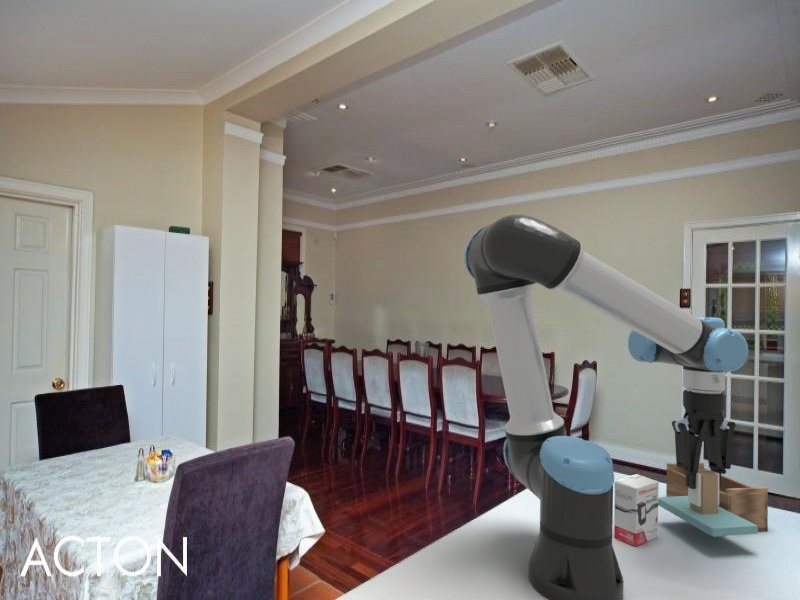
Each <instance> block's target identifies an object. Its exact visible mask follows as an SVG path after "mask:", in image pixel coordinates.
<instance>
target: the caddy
mask: <svg viewBox="0 0 800 600" xmlns="http://www.w3.org/2000/svg"><path fill="white" fill-rule="evenodd" d="M698 469H706V468H705V463H704V462H702V461H699V468H698ZM665 486H666V492H665V493H666V496H665V497H674V496H688V487H687V486H686V471H685V470H683V469H681V468H679V467H677V465H676V462H672V463H671V462H670V463H666V485H665ZM768 492H769V488H768V487H766V486H759V487H758V486H756V487H752V486H749V485H746V484H745V483H742V482H739V481H737V480H735V479H732V478H731V477H730V478H729V477H727V476H725V475H724V474H723V475H722V474H721V487H719V505H718V506H719V507H721V508H723V509H725V510H727V511H729V512H731V513H733V514H735V515H737V516H739V517H741V518H743V519H745V520H747V521H749V522H751V523H753V524H755V525H757V526H758V533H761V532H768V531H769V530H768V529H769V526H768V525H769V523H768V522H769V521H768V519H769V518H768V516H769V515H768V513H769V512H768V511H769V510H768V509H769V505H768V504H769V502H768V501H769V499H768V497H769V493H768Z"/></svg>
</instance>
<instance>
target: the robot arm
mask: <svg viewBox="0 0 800 600" xmlns="http://www.w3.org/2000/svg"><path fill="white" fill-rule="evenodd" d="M583 249H584V247H583V244H582V242H581V241H580V240H578V239H576V238H574V237H572V236H571V235H569V234H568V233H566V232H564V231H562V230H561V229H558V228H557V227H555V226H553V225H552V224H550V223H547V222H546V221H544V220H541V219H538V218H536V217H534V216H530V215H526V214H509V215H505V216H502V217H501V218H499V219H497V220H496V221H494V222H492V223H490V224H488V225H485V226H483V227H482V228H480V229H478V230H477V231H476V232H475V233H474V234H473V235H472V237H470V239H469V241H468V242H467V244H466V246H465V250H464V254H463V256H464V264H465V268H466V270H467V272H468V274H469V275H470V276H471V277H472V279H474V283H475V288H476V293H477V297H478V298H480V299H481V300H483V301H485V302H486V304H487V308H488V314H489V318H490V324H491V329H492V334H493V338H494V344H495V348H496V354H497V359H498V364H499V367H500V368H499V369H500V373H501V378H502V383H503V388H504V394H505V397H506V398H505V399H506V403H507V407H508V413H509V419H508V421H507V422H506V424H505V426H504V432H505V437H506V439H505V440H504V443H503V459H504V461H505V465H506V467H507V468H508V470H509V472H510V474H512V476H513V477H514V478H515V479H516V480H517V482H519V483H520V484H522V485H523V486H524V487H525V488H526V489H528V491H530V492H531V493H532V494H533V495H534V496H536V497H537V499H538V500H539V505H540V506H539V532H538V535H537V538H536V540H535V543H534V546H533V549H532V552H531V555H530V557H529V559H528V580H529V582H530V584H531V585H532V586H533V588H534V589H535V590H536V591H538V593H540V594H541V595H542V596H544V597H546V598H547V599H549V600H623V598H624V577H623V574H622V570H621V568H620V565H619V562H618V559H617V555H616V552H615V548H614V545H613V526H614V525H613V524H614V522H613V519H614V517H613V514H614V513H613V511H614V508H613V507H614V484H615V473H614V464H613V459H612V457H611V455H610V453H609V452H608V451H607V450H606V449H605V448H604V447H602V446H601V445H599V444H598V443H595V442H593V441H590V440H585V439H583V438H582V437H578V436H577V437H576V436H572V435H571V436H569V435H567V430H566V425H565V421H564V419H563V418H562V417H561V416H559V415H558V414H557V413H555V411H554V407H553V402H552V396H551V391H550V387H549V382H548V376H547V372H546V366H545V362H544V361H545V360H544V358H543V357H544V356H543V351H542V347H541V341H540V336H539V331H538V326H537V322H536V316H535V312H534V306H533V300H532V297H531V294H532V292H533V290H535V287H536V286H537V284H538V285H541V286H543V287H544V288H546V289H548V290H551V291H552V290H556V289H559V290H562V291H563V292H565V293H567V294H569V295H571V296H572V297H574V298H576V299H578V300H579V301H581V302H583V303H584V304H586V305H588V306H590V307H592V308H593V309H595V310H597V311H598V312H600V313H601V314H604V315H606V316H607V317H609V318H611V319H613V320H615V321H616V322H617V323H620V324H621V325H623V326H625V327H627V328H629V329H630V330H631V331H630V332H629V334H628V338H627V349H628V351H629V353H630V356H631V357H632V358H633V359H634V360H636V361H637V362H640V363H648V364H649V363H650V364H652V363H661V364H663V363H664V364H669V365H675V366H682V387H683V388H685V389H684V390H683V391H682V405H683V408H684V410H685V412H684V414H683V417H682V419H680V420H678V421H677V420H673V421H672V422H671V426H672V429H673V431H674V444H675V461H676V462H675V463H676V465H677V467H679V468H681V469H683V470H685V471H686V486H687V487H688V502H690V503H692V504H694V505H696V506H698V507H699V506H701V474H699V473H698V468H699V462H701V454H702V448H703V443H705V448H706V449H705V451H706V455H707V462H708V468H709V469H708V468H705V469H706V470H708V471H711V472H713V473H716V474H718V505H719V487H721V475H722V474H723V475H725V474H726V473H727V470H731V468H732V454H733V452H732V451H733V434H734V430H735V428H736V422H734V421H731V420H727V419H725V417H724V414H723V412H725V410H726V394H725V393H724V391H725V390H726V373H731V372H735V371H737V370H739V369H741V368H742V367H743V366H744V365H745V362H746V361H747V358H748V356H749V346H748V342H747V340H746V338H745V337H744V336H743V334H741V333H740V332H739V331H737V330H734V329H728V328H726V326H725V321H724V320H723V319H722V318H720V317H705V316H703V317H701V316H698V317H697V316H695V315H693V314H691V313H690V312H688V311H686V310H685V309H682V308H681V307H679V306H678V305H676V304H675V303H672V302H671V301H669V300H667V299H666V298H664V297H662V296H660V295H659V294H658V293H656V292H654V291H652V290H650V289H649V288H647V287H645V286H644V285H642V284H641V283H638V282H637V281H636V280H633V279H632V278H631V277H629V276H628V275H625V274H623V273H622V272H619V271H618V270H617V269H615V268H613V267H611V266H610V265H608V264H606V263H604V262H603V261H602V260H600V259H598V258H597V257H594V256H593V255H591V254H589V253H588V252H586V251H584V250H583Z"/></svg>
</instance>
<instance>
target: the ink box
mask: <svg viewBox="0 0 800 600" xmlns="http://www.w3.org/2000/svg"><path fill="white" fill-rule="evenodd" d="M658 497H659V481H657V480H655V479H652V478H649V477H646V476H644V475H641V474H638V473H636V474H632V475H628V476H624V477H621V478H619V479H616V480H614V503H613V507H614V508H613V511H614V513H613V514H614V517H613V519H614V522H613V524H614V525H613V526H614V529H613V530H614V531H613V532H614V533H613V534H614V536H613V537H614V539H617V540H618V541H621V542H624V543H625V544H629V545H631V546H633V547H638V546H640V545H642V544H645V543H646V542H649V541H652V540H654V539H656V538H658V537H659V536H658V535H659V529H658V528H659V506H658Z"/></svg>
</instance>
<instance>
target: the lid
mask: <svg viewBox="0 0 800 600" xmlns="http://www.w3.org/2000/svg"><path fill="white" fill-rule="evenodd" d="M706 469H707V468H705V469H698V473H699V474H701V506H699V507H698V506H696V505H694V504H692V503H690V502H688V496H674V497H666V496H658V507H660V508H662V509H664V510H666V511H668V512H669V513H670V514H672V515H674V516H676V517H678V518H679V519H682V520H683V521H685V522H686V523H688V524H690V525H691V526H694V527H695V528H697V529H698V530H700V531H702V532H704V533H706V534H707V535H709V536H711V537H713V538H715V537H725V536H726V537H729V536H740V535H741V536H742V535H754V534H759V532H758V526H757V525H755V524H753V523H751V522H749V521H747V520H745V519H743V518H741V517H739V516H737V515H735V514H733V513H731V512H729V511H727V510H725V509H723V508H721V507H719V506H718V474H716V473H713V472H711V471H708V470H706Z"/></svg>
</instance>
